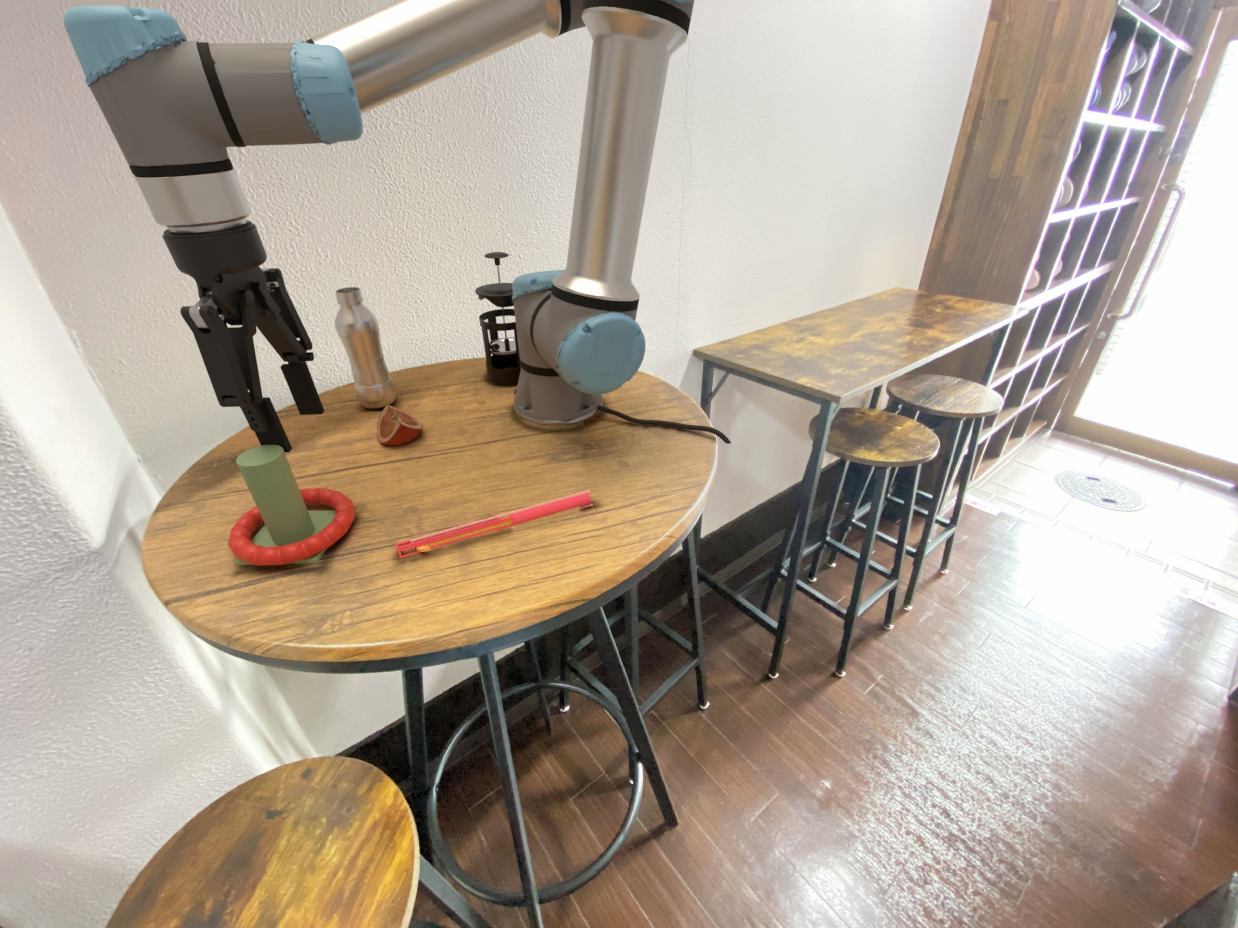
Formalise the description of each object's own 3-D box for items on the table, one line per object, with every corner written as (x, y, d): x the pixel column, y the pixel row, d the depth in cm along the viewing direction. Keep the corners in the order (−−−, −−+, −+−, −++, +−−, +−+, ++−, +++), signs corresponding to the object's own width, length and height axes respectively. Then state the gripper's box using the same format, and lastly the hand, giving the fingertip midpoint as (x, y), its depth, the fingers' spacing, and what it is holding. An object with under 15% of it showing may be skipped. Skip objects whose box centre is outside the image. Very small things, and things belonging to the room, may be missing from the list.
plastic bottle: (407, 401, 95) (379, 288, 85) (374, 416, 91) (340, 298, 80) (384, 393, 98) (354, 282, 88) (351, 407, 94) (315, 292, 83)
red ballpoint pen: (398, 552, 63) (400, 567, 59) (394, 536, 63) (395, 550, 59) (584, 499, 72) (597, 509, 68) (582, 484, 72) (595, 493, 67)
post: (351, 519, 68) (321, 433, 61) (320, 569, 60) (281, 477, 53) (278, 520, 67) (240, 434, 60) (238, 571, 60) (189, 479, 53)
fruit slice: (374, 435, 85) (366, 407, 83) (416, 424, 88) (410, 397, 86) (386, 459, 79) (378, 429, 77) (431, 446, 82) (425, 417, 80)
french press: (501, 391, 99) (484, 262, 86) (474, 376, 105) (454, 253, 92) (551, 374, 106) (542, 251, 93) (523, 361, 111) (511, 244, 99)
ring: (370, 495, 69) (366, 483, 68) (332, 565, 58) (327, 552, 57) (267, 500, 68) (261, 487, 67) (208, 572, 58) (200, 558, 56)
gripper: (230, 205, 58) (304, 391, 72) (78, 252, 41) (212, 485, 55) (299, 203, 58) (360, 389, 72) (175, 250, 42) (286, 482, 55)
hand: (296, 430), depth 63 cm, fingers open, 8 cm apart
